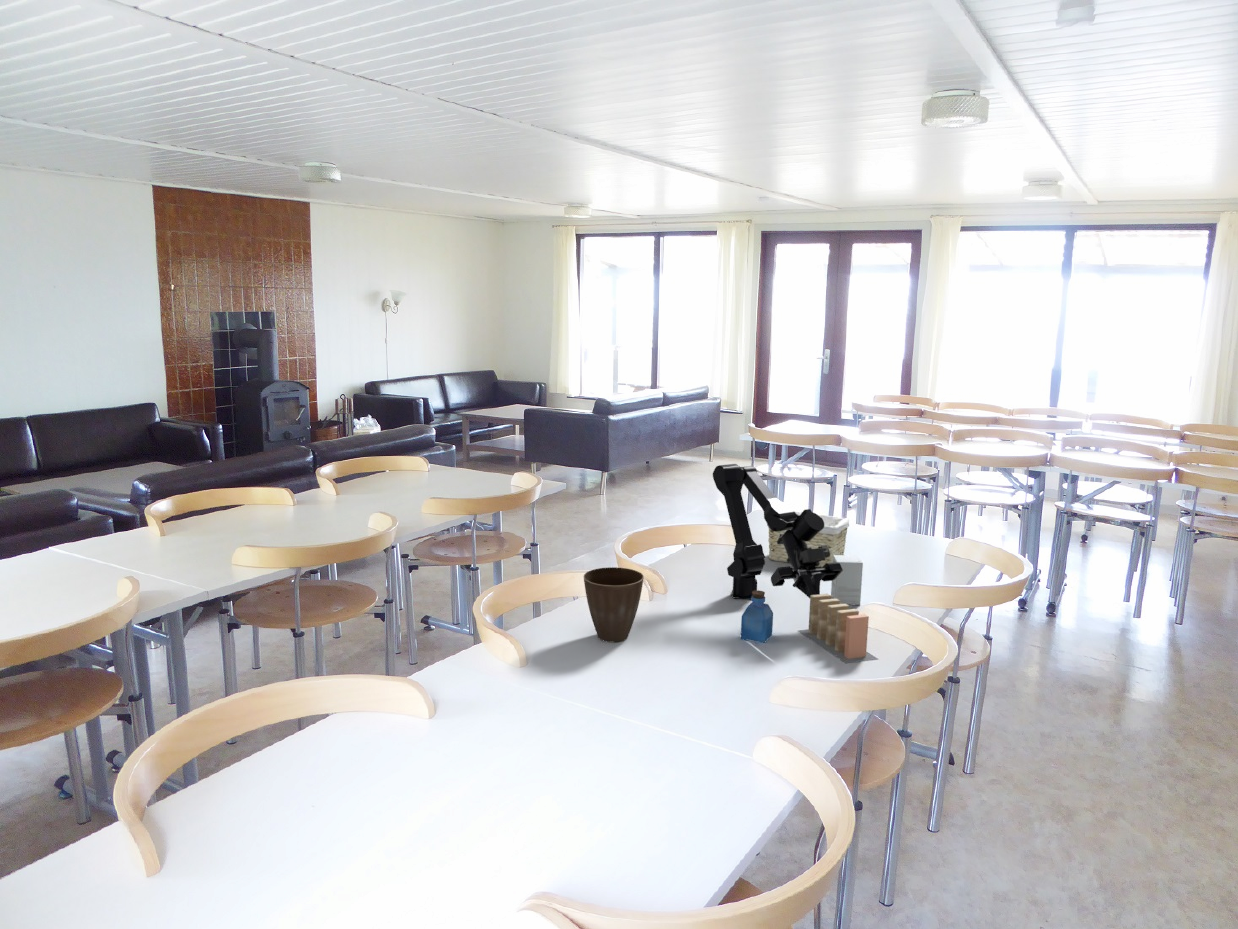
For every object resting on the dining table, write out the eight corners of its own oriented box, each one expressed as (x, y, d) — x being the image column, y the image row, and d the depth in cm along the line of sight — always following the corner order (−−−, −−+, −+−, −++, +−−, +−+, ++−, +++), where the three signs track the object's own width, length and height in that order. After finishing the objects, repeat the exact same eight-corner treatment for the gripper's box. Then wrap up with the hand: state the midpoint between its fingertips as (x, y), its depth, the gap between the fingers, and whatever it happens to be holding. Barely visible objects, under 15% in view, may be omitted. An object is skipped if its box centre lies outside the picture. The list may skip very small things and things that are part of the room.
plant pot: (636, 651, 204) (637, 587, 201) (576, 645, 207) (577, 582, 204) (646, 629, 218) (648, 569, 215) (590, 624, 221) (591, 565, 218)
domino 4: (834, 650, 206) (837, 610, 204) (852, 647, 207) (854, 608, 205) (838, 652, 204) (840, 613, 202) (856, 650, 206) (858, 611, 204)
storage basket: (763, 560, 284) (765, 517, 281) (780, 549, 297) (782, 508, 295) (833, 572, 271) (836, 527, 269) (848, 560, 285) (850, 517, 283)
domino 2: (816, 638, 213) (819, 600, 211) (833, 636, 215) (836, 598, 213) (820, 640, 212) (822, 602, 210) (837, 638, 213) (839, 600, 211)
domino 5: (844, 656, 202) (846, 616, 200) (861, 653, 203) (864, 614, 202) (848, 658, 200) (850, 618, 199) (865, 656, 202) (868, 616, 200)
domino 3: (825, 644, 209) (827, 605, 208) (843, 642, 211) (845, 603, 209) (829, 646, 208) (831, 607, 206) (846, 644, 209) (849, 605, 208)
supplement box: (855, 597, 246) (858, 555, 244) (860, 605, 239) (863, 562, 237) (830, 596, 247) (832, 554, 245) (834, 604, 240) (836, 561, 238)
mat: (797, 631, 218) (797, 630, 218) (827, 628, 221) (827, 627, 221) (845, 664, 198) (846, 663, 198) (878, 660, 201) (878, 659, 201)
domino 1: (808, 632, 217) (810, 595, 215) (825, 630, 218) (827, 593, 217) (811, 634, 215) (813, 597, 214) (828, 632, 217) (830, 595, 215)
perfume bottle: (740, 639, 212) (742, 593, 210) (748, 631, 218) (750, 587, 216) (764, 644, 210) (766, 597, 207) (772, 636, 215) (774, 591, 213)
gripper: (778, 537, 216) (798, 591, 207) (840, 532, 222) (863, 585, 213) (761, 559, 225) (781, 612, 216) (822, 553, 231) (843, 605, 222)
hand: (817, 603), depth 217 cm, fingers closed
